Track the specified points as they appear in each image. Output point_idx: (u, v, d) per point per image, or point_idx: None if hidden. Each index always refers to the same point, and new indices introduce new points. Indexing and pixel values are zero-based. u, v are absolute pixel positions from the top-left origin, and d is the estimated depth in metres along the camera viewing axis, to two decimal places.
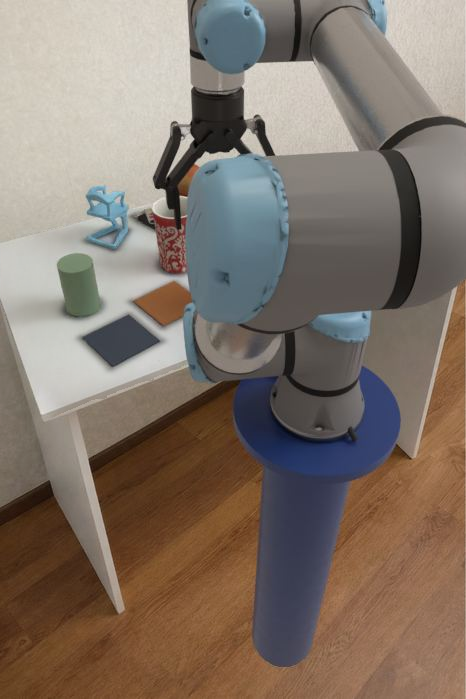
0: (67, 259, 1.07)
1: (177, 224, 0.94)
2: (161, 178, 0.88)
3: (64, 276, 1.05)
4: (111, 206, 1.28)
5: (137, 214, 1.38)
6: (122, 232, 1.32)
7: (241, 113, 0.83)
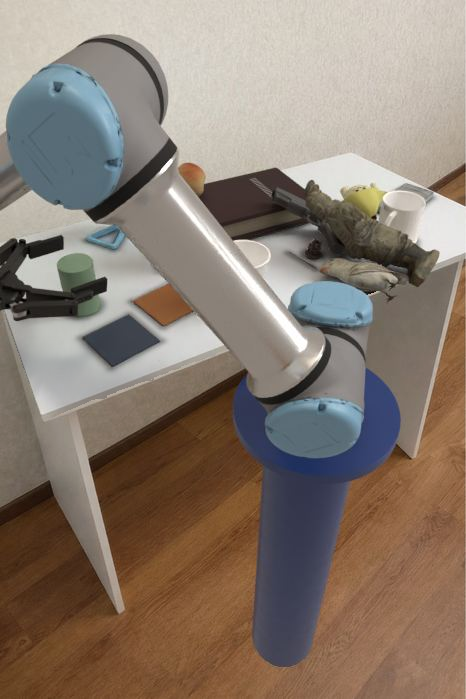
0: (67, 259, 1.07)
1: (102, 280, 0.98)
2: (66, 302, 0.93)
3: (64, 276, 1.05)
4: None
5: None
6: (122, 232, 1.32)
7: None
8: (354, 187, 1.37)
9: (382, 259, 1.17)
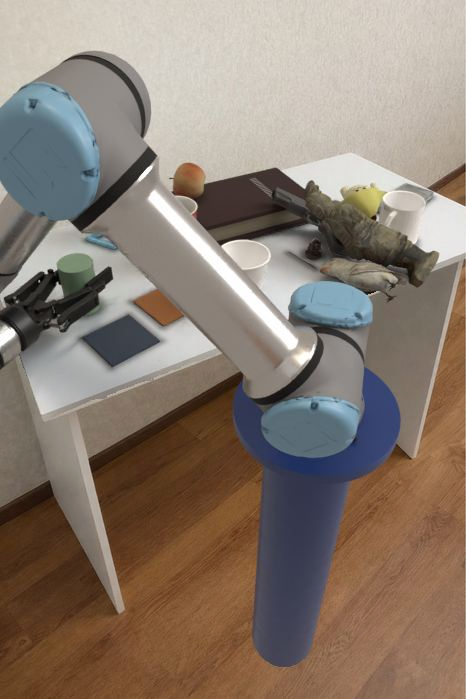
0: (67, 259, 1.07)
1: (107, 269, 1.10)
2: (89, 296, 1.04)
3: (64, 276, 1.05)
4: None
5: None
6: None
7: None
8: (354, 187, 1.37)
9: (381, 260, 1.17)
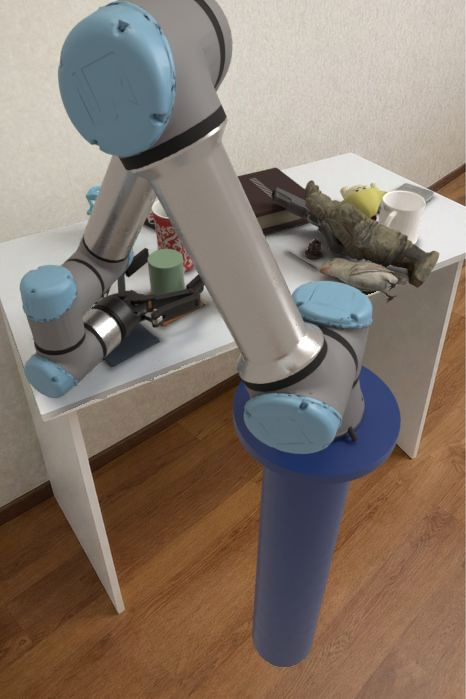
0: (157, 255, 1.08)
1: None
2: (190, 297, 1.02)
3: (156, 272, 1.06)
4: None
5: None
6: None
7: None
8: (354, 187, 1.37)
9: (381, 260, 1.17)
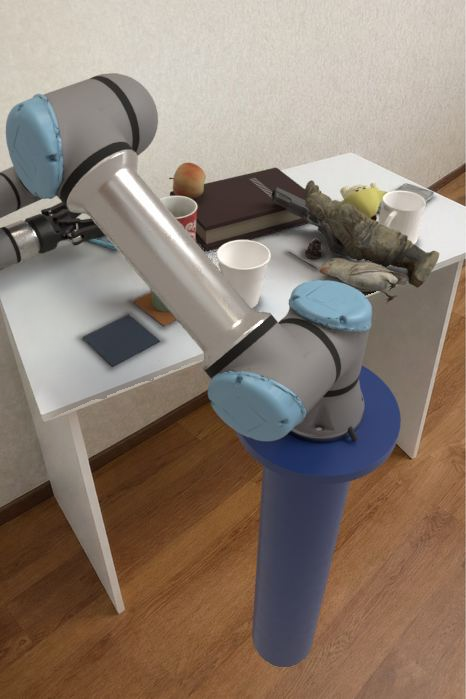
0: None
1: None
2: None
3: None
4: None
5: None
6: None
7: None
8: (354, 187, 1.37)
9: (381, 260, 1.17)
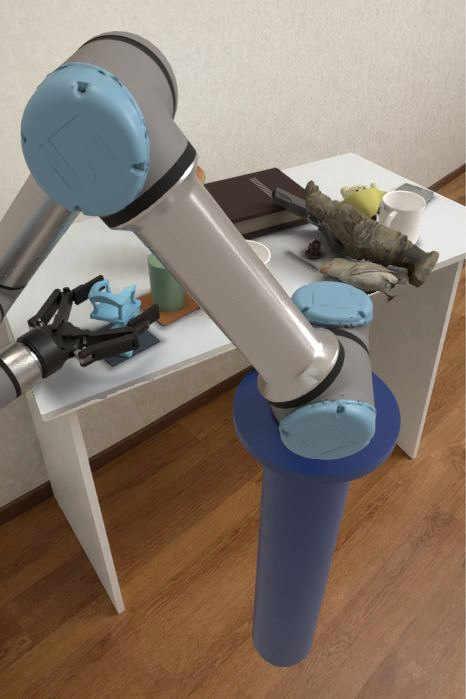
0: None
1: (154, 308, 0.98)
2: (127, 337, 0.92)
3: (156, 272, 1.06)
4: None
5: None
6: None
7: None
8: (354, 187, 1.37)
9: (381, 261, 1.17)
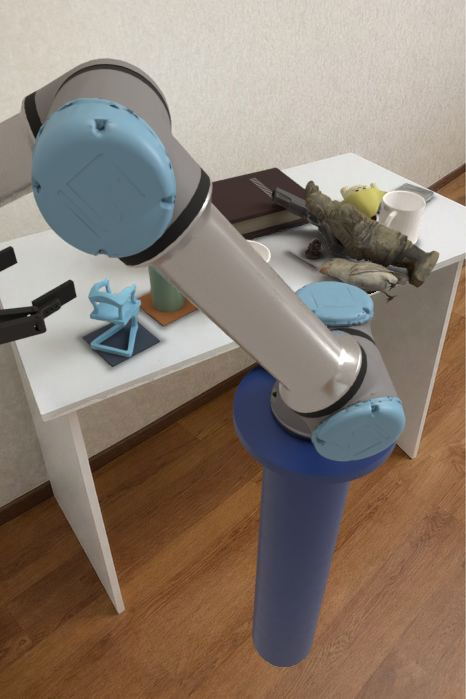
0: None
1: (67, 284, 0.81)
2: (28, 318, 0.75)
3: (156, 272, 1.06)
4: None
5: None
6: (133, 332, 1.06)
7: None
8: (354, 187, 1.37)
9: (381, 261, 1.17)
